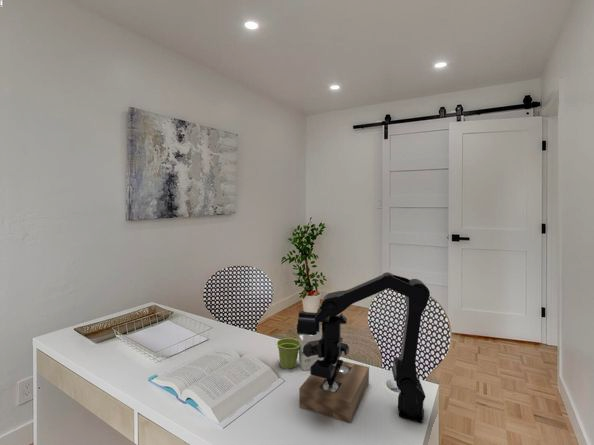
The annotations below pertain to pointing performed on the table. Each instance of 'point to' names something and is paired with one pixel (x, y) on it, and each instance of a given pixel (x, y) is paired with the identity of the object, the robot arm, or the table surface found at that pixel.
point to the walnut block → (336, 393)
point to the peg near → (330, 387)
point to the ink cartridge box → (303, 340)
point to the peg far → (344, 370)
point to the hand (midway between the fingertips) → (330, 385)
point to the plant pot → (288, 352)
